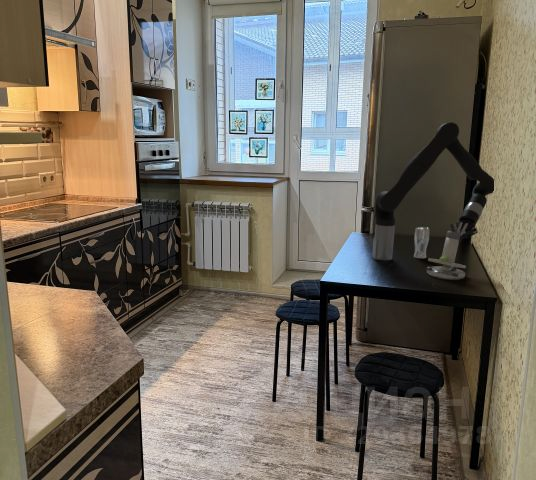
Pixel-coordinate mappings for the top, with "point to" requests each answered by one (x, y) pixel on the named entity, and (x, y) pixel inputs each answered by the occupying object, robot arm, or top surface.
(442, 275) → the base
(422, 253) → the beer glass
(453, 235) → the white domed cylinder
